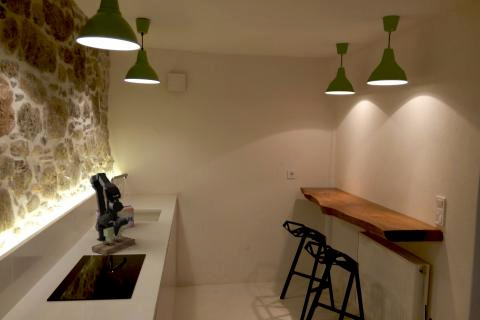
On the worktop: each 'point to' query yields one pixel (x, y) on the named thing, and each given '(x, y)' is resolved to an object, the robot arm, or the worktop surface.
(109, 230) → the sage green tapered block
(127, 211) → the gum box
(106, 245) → the brown wooden flat panel
